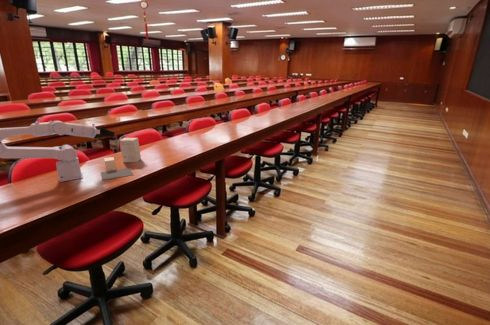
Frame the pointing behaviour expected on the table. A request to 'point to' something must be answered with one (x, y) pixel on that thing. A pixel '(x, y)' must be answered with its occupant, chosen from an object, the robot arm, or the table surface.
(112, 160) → the eraser block
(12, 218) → the table surface
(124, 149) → the small box
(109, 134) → the robot arm
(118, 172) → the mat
